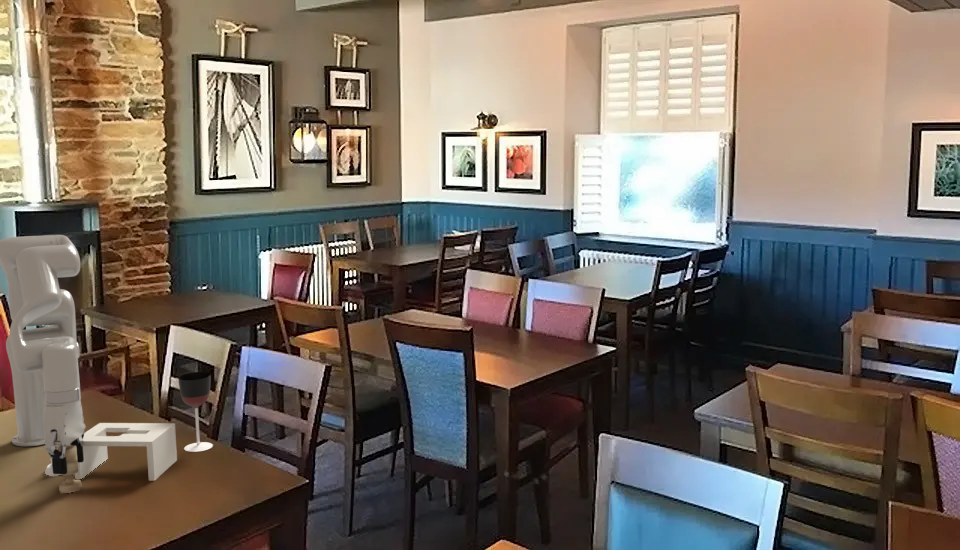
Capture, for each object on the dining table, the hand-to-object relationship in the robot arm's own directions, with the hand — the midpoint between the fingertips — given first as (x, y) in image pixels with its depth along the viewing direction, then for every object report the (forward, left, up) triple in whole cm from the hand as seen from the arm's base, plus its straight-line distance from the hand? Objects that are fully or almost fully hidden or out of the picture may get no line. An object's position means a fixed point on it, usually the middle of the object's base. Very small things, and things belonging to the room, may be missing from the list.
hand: (68, 467), depth 202 cm
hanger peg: (0, 0, -6) cm, 6 cm away
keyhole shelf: (-13, +8, -6) cm, 16 cm away
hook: (-12, -9, -6) cm, 16 cm away
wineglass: (-30, +20, -6) cm, 37 cm away
